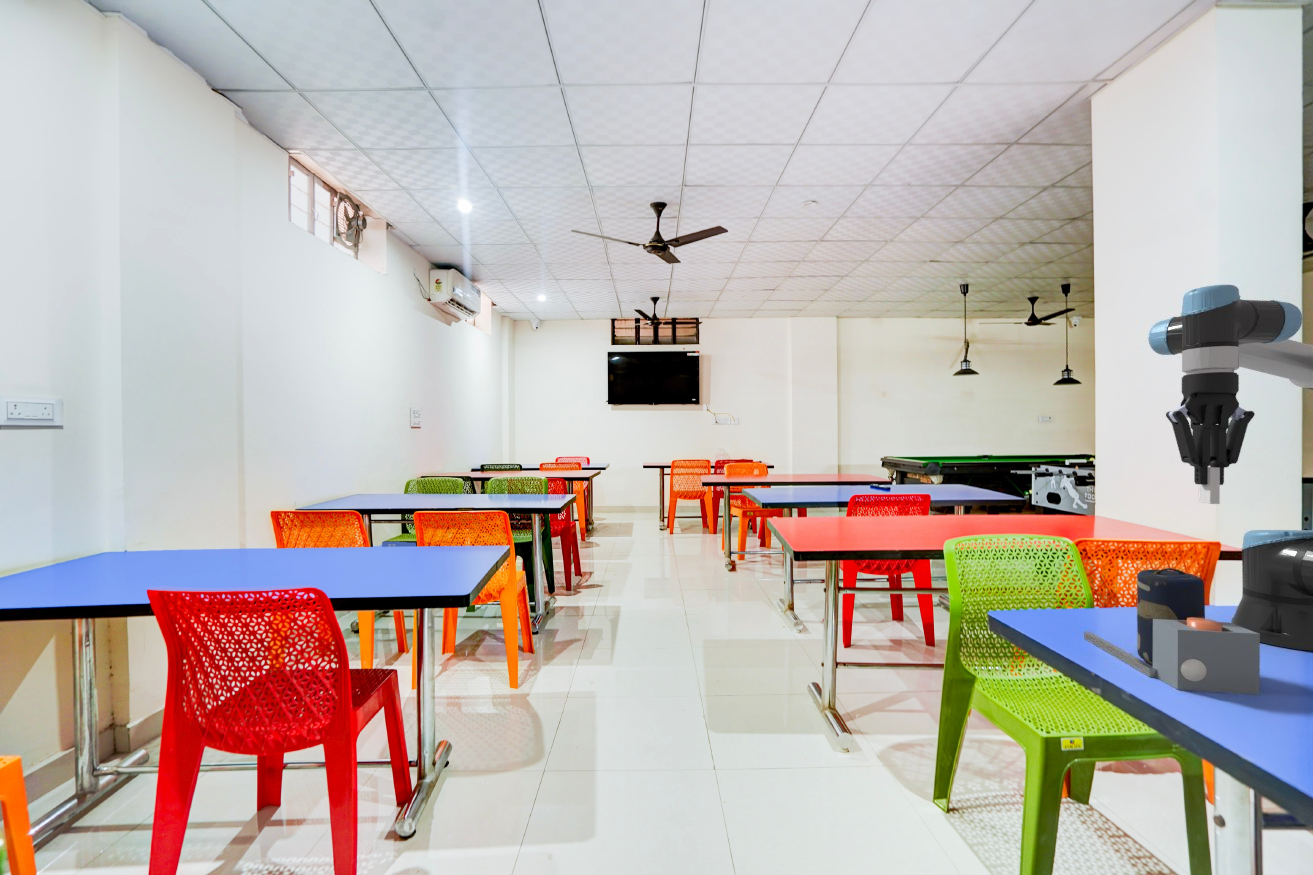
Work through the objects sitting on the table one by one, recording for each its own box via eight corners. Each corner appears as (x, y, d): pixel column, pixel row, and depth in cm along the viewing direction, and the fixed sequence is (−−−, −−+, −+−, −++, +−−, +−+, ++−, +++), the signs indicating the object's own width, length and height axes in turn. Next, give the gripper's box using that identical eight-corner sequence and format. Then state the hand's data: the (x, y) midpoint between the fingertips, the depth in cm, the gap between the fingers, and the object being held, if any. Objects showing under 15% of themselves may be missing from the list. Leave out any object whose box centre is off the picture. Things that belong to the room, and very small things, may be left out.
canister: (1219, 677, 103) (1219, 575, 103) (1156, 672, 105) (1157, 572, 105) (1181, 657, 112) (1182, 563, 112) (1125, 653, 114) (1126, 561, 114)
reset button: (1208, 643, 101) (1208, 618, 101) (1229, 653, 97) (1229, 626, 97) (1180, 642, 102) (1180, 616, 102) (1199, 651, 98) (1199, 624, 98)
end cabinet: (1229, 679, 102) (1229, 622, 102) (1261, 695, 95) (1261, 634, 95) (1152, 675, 103) (1152, 618, 103) (1179, 690, 97) (1179, 630, 97)
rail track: (1165, 642, 120) (1165, 635, 120) (1247, 682, 100) (1248, 674, 100) (1084, 638, 122) (1084, 631, 122) (1149, 677, 103) (1149, 668, 103)
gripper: (1233, 375, 109) (1232, 501, 108) (1155, 375, 110) (1154, 500, 110) (1269, 370, 101) (1268, 506, 101) (1184, 371, 103) (1184, 504, 103)
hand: (1208, 502), depth 106 cm, fingers closed
